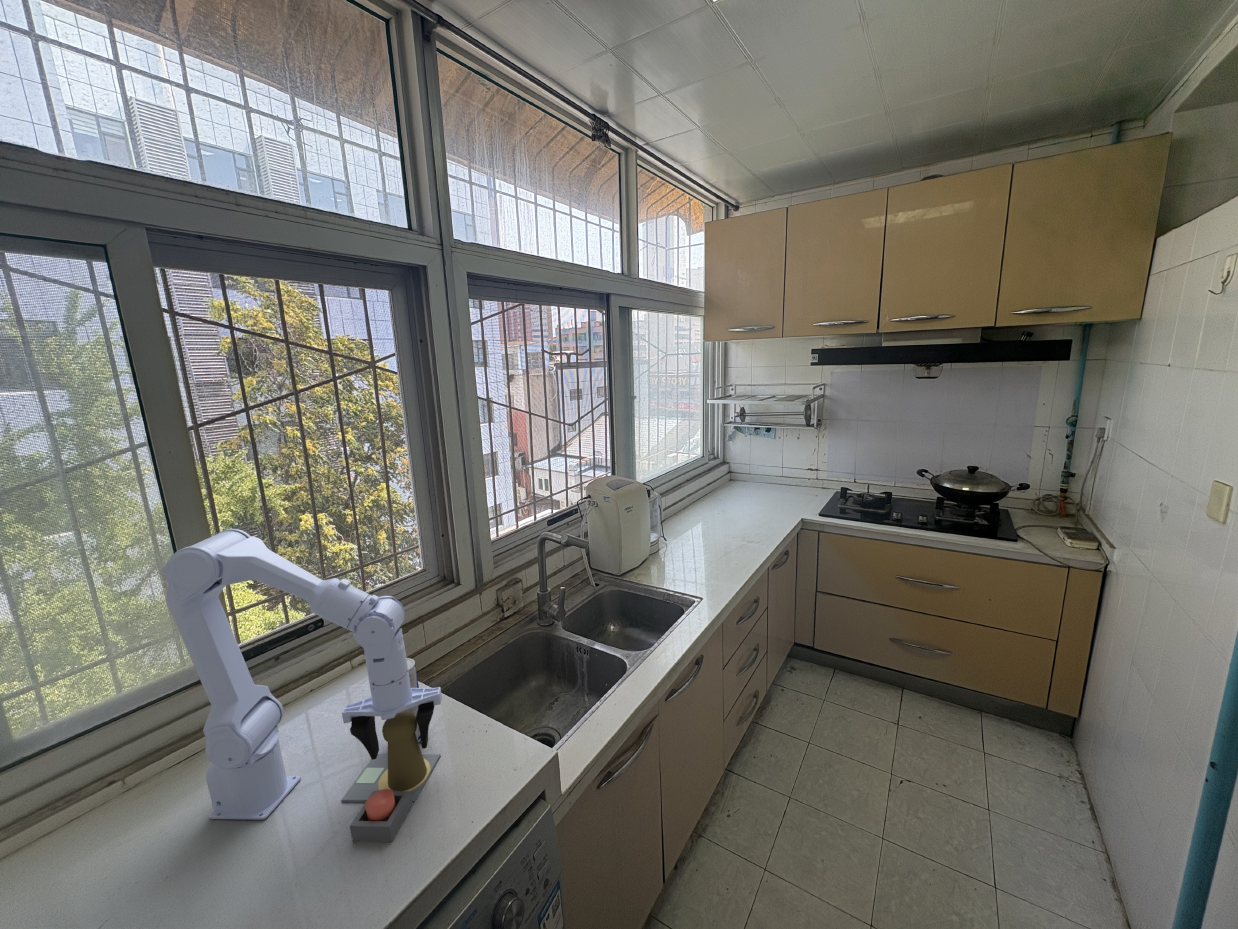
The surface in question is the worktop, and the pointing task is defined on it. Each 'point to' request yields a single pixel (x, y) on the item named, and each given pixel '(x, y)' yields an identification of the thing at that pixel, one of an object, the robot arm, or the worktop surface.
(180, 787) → the worktop surface
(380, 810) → the button
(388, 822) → the button housing
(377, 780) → the grey kitchen scale
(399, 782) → the olive knobbed peg
